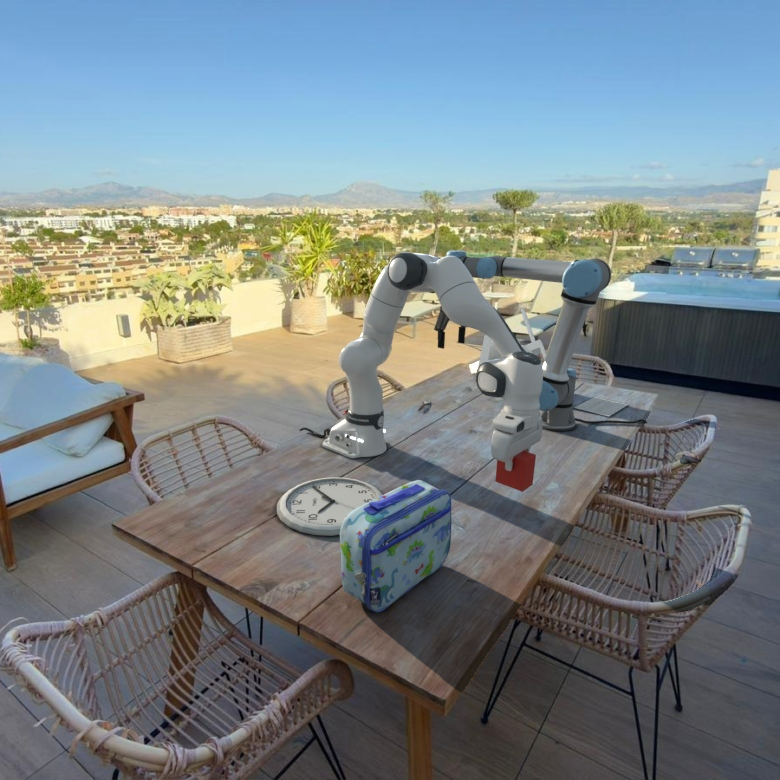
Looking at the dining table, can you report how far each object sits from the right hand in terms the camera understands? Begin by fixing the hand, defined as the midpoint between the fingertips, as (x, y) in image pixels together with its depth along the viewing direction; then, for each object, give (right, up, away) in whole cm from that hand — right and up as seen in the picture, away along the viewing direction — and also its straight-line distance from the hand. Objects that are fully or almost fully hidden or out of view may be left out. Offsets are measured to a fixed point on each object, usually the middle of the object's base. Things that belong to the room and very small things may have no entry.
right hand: (451, 345), depth 209 cm
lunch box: (-23, -59, -97) cm, 116 cm away
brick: (+8, -43, -71) cm, 83 cm away
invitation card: (+67, -25, +17) cm, 74 cm away
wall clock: (-40, -49, -66) cm, 92 cm away
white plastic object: (+33, -16, +45) cm, 58 cm away
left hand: (+8, -38, -72) cm, 82 cm away
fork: (-10, -25, +14) cm, 30 cm away
